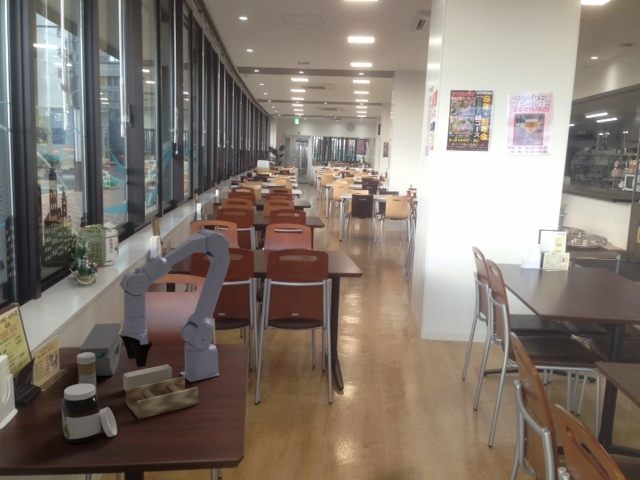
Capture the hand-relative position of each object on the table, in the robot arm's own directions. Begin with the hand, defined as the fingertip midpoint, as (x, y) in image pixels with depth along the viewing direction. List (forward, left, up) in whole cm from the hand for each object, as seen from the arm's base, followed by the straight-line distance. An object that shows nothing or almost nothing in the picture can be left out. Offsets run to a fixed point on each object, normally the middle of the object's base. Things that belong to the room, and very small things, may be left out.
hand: (136, 362), depth 165 cm
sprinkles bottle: (+14, +2, -8) cm, 16 cm away
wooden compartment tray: (-2, +14, -8) cm, 16 cm away
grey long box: (+4, -21, -8) cm, 23 cm away
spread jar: (+18, +21, -8) cm, 29 cm away
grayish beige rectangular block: (-3, 0, -8) cm, 9 cm away
